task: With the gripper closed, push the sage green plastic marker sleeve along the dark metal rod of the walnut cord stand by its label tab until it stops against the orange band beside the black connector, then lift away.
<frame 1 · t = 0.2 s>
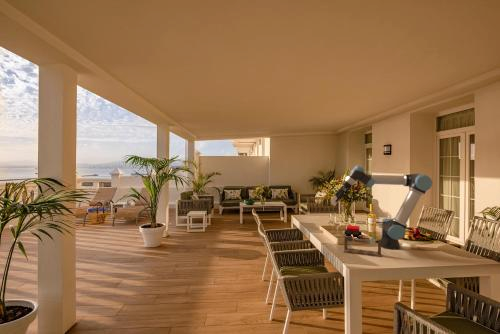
hand: (332, 203, 238), 36 cm above the table, tool tilted 35°, fingers open, 13 cm apart
stop band: (353, 239, 228), point 10 cm above the table
marker sleeve: (372, 237, 223), point 13 cm above the table, slide at -7.0 cm
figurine: (352, 237, 271), on the table
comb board: (362, 253, 226), on the table
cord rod: (362, 240, 226), point 10 cm above the table
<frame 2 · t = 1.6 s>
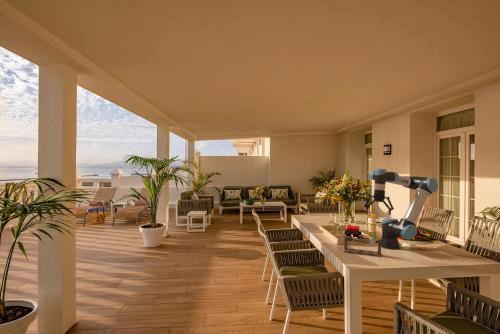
hand: (378, 217, 221), 28 cm above the table, tool pointing down, fingers open, 13 cm apart
nothing on the table moved.
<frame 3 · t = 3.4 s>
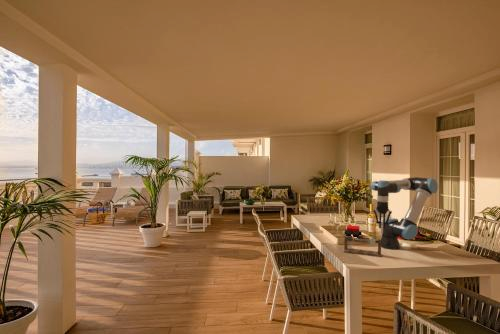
hand: (381, 232, 220), 17 cm above the table, tool pointing down, fingers closed
nothing on the table moved.
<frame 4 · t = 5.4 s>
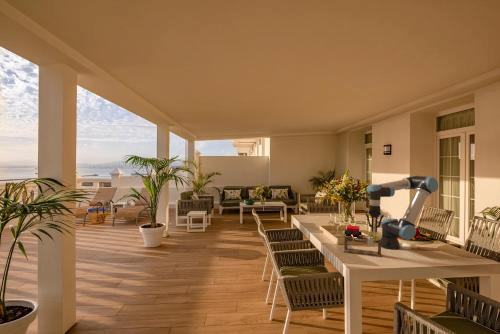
hand: (374, 236, 223), 14 cm above the table, tool pointing down, fingers closed
marker sleeve: (370, 237, 224), point 13 cm above the table, slide at -5.6 cm, touching gripper
everything else where it was.
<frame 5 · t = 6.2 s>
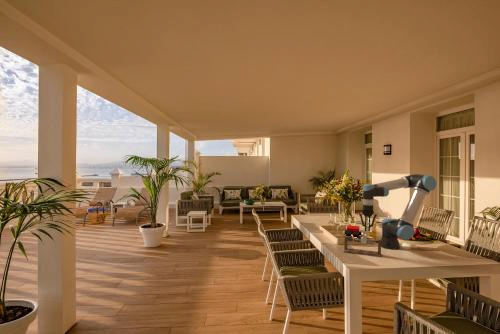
hand: (367, 235, 224), 14 cm above the table, tool pointing down, fingers closed
marker sleeve: (363, 236, 226), point 13 cm above the table, slide at -0.9 cm, touching gripper
everything else where it was.
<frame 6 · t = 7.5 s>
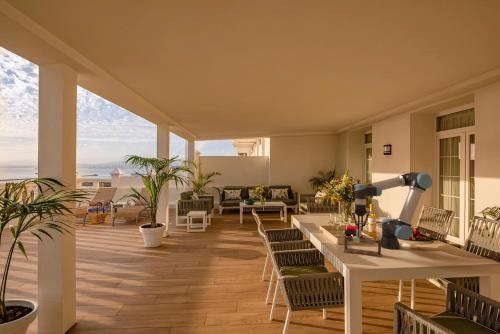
hand: (360, 234, 226), 14 cm above the table, tool pointing down, fingers closed
marker sleeve: (357, 236, 227), point 13 cm above the table, slide at 4.0 cm, touching gripper, stop band
everything else where it was.
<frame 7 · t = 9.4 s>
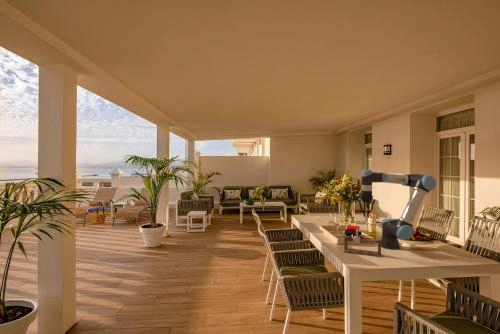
hand: (366, 221, 225), 25 cm above the table, tool pointing down, fingers closed
marker sleeve: (357, 236, 227), point 13 cm above the table, slide at 4.0 cm, touching stop band
everything else where it was.
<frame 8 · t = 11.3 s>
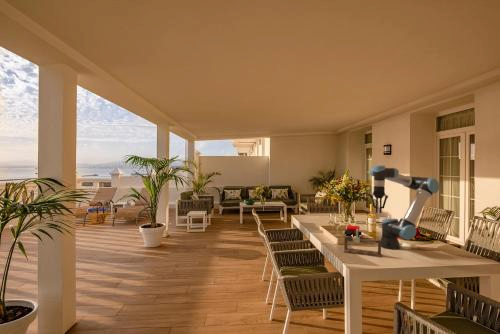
hand: (378, 217, 222), 28 cm above the table, tool pointing down, fingers closed
nothing on the table moved.
at the end: marker sleeve slide at 4.0 cm; the gripper is holding nothing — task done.
